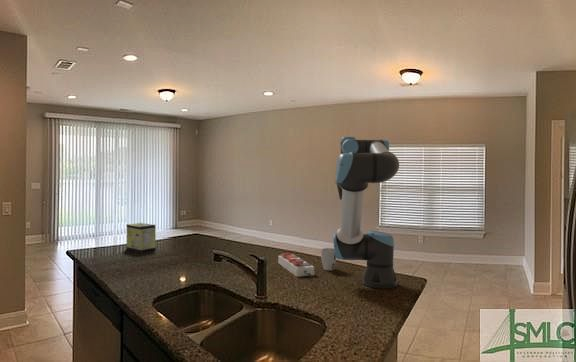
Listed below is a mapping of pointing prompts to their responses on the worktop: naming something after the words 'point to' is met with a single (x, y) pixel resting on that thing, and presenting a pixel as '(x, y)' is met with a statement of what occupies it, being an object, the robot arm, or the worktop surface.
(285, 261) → the power strip
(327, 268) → the cup
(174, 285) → the worktop surface
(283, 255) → the block
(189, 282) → the worktop surface
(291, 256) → the plate
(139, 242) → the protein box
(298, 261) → the rocker
